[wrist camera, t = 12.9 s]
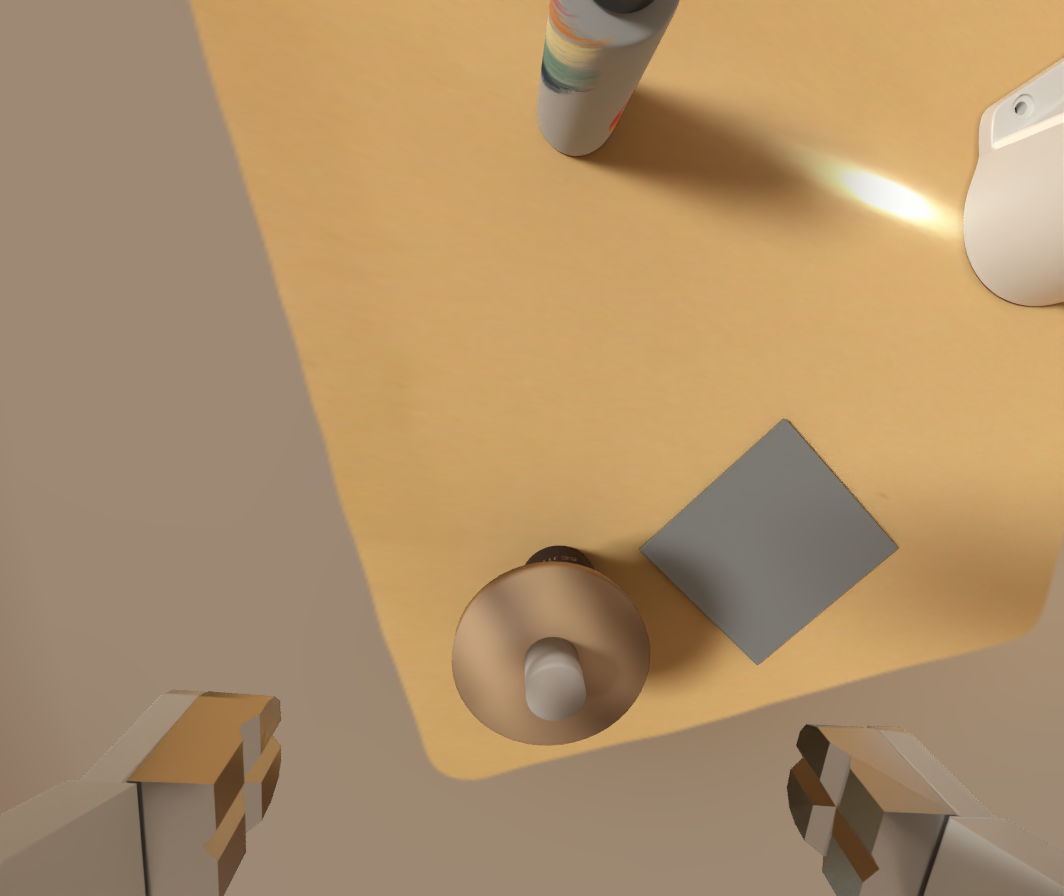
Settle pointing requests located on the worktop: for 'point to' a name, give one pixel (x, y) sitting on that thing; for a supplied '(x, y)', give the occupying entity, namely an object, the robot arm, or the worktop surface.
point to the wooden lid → (550, 653)
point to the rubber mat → (769, 543)
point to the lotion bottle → (594, 66)
